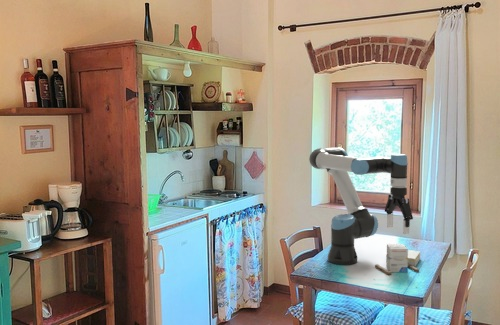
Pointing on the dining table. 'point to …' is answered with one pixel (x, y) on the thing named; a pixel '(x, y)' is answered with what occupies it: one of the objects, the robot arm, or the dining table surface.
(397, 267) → the ink box
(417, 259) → the block
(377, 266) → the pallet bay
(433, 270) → the dining table surface
